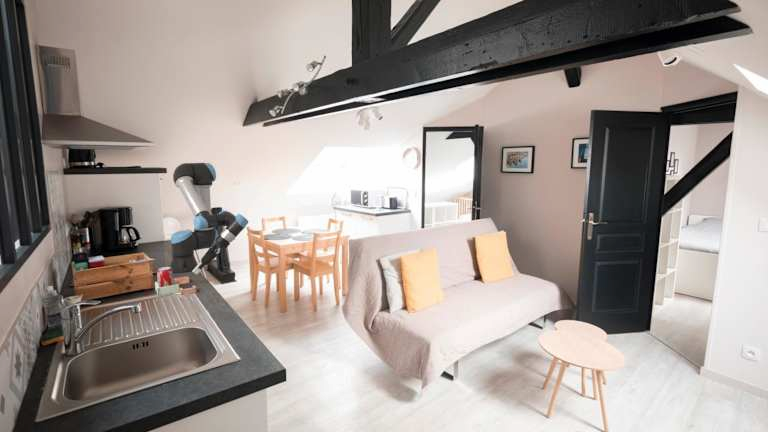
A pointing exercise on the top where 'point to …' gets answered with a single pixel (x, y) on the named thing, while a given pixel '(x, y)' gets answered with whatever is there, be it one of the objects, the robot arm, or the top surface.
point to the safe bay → (167, 289)
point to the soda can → (165, 277)
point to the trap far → (182, 280)
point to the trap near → (188, 290)
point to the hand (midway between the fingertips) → (194, 273)
